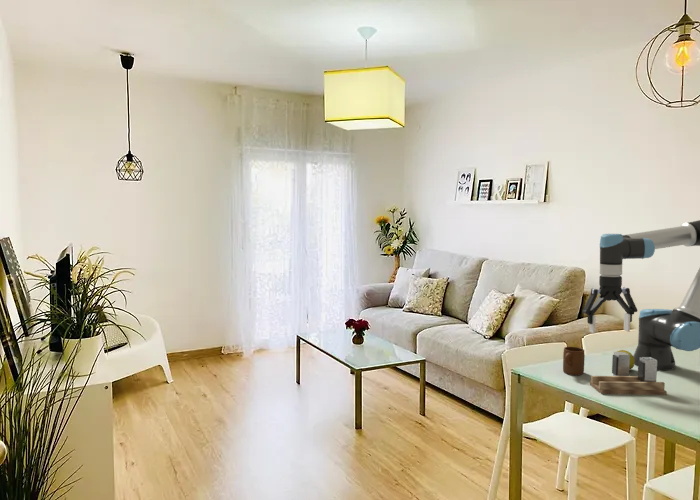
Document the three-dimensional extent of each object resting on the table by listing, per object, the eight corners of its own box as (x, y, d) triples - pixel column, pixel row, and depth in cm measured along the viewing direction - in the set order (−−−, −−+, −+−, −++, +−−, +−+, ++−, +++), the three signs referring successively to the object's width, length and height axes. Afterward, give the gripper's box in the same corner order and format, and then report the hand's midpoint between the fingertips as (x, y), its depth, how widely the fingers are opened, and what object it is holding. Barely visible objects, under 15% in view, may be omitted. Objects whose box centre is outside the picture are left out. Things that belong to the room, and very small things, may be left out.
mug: (576, 380, 197) (576, 355, 196) (555, 375, 202) (556, 351, 201) (586, 372, 206) (587, 348, 205) (566, 368, 211) (567, 345, 210)
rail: (651, 385, 191) (651, 375, 191) (666, 394, 181) (667, 384, 181) (589, 384, 192) (589, 374, 191) (601, 394, 182) (601, 383, 181)
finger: (649, 384, 188) (651, 357, 187) (656, 388, 184) (657, 360, 183) (636, 384, 188) (638, 357, 187) (642, 388, 184) (643, 360, 183)
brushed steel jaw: (616, 381, 195) (617, 354, 194) (611, 377, 199) (612, 351, 198) (628, 381, 195) (629, 354, 194) (623, 377, 199) (624, 351, 198)
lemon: (614, 365, 215) (614, 346, 214) (635, 368, 210) (636, 349, 210) (609, 372, 206) (610, 352, 205) (632, 376, 201) (633, 355, 201)
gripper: (636, 273, 200) (634, 327, 202) (573, 275, 198) (572, 330, 200) (649, 275, 193) (647, 332, 194) (583, 277, 190) (583, 335, 192)
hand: (609, 331), depth 197 cm, fingers open, 13 cm apart
